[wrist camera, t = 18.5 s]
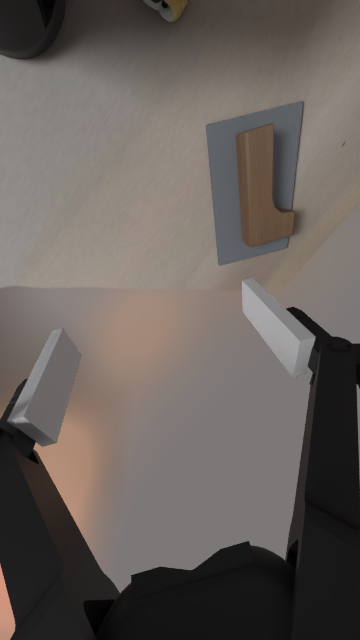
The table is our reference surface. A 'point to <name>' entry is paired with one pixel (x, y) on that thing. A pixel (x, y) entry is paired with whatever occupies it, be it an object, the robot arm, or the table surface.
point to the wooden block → (259, 189)
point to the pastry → (168, 8)
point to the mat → (226, 175)
